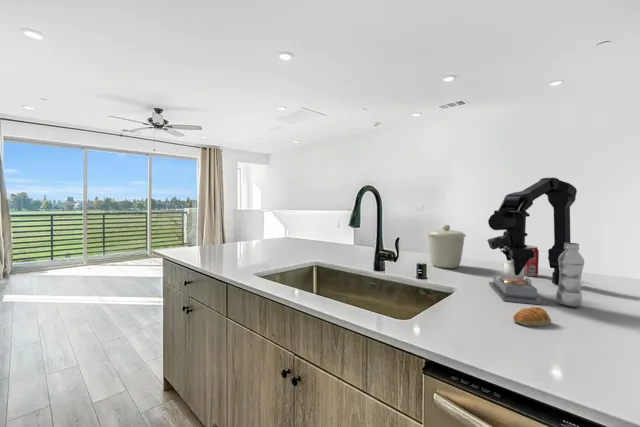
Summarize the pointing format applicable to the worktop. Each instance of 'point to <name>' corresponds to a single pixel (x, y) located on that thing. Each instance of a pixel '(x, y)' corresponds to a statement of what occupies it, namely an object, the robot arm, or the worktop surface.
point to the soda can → (532, 263)
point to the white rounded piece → (511, 270)
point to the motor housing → (515, 290)
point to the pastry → (532, 317)
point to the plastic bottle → (570, 276)
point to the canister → (445, 247)
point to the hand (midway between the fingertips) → (513, 272)
